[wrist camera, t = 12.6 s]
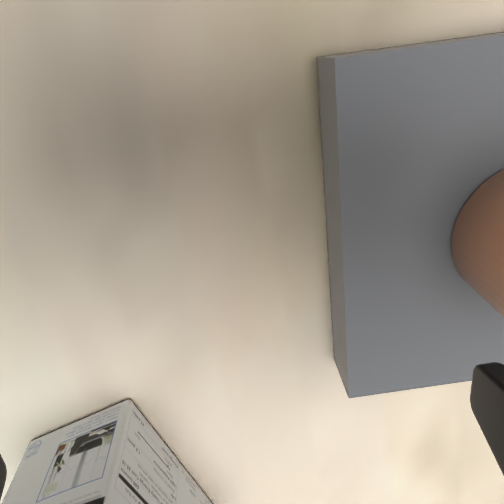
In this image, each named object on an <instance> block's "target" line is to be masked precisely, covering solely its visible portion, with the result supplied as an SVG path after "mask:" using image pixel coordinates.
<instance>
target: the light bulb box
mask: <svg viewBox="0 0 504 504" xmlns="http://www.w3.org/2000/svg"><path fill="white" fill-rule="evenodd" d="M2 504H212V503H211V502H210V500H209V499H208V498H207V496H206V495H205V494H204V493H203V491H202V490H201V489H200V488H199V486H198V485H197V484H196V482H195V481H194V480H193V479H192V477H191V476H190V475H189V474H188V472H187V471H186V470H185V469H184V467H183V466H182V465H181V464H180V462H179V461H178V460H177V458H176V457H175V456H174V455H173V453H172V452H171V451H170V449H169V448H168V447H167V446H166V444H165V443H164V442H163V441H162V439H161V438H160V437H159V435H158V434H157V433H156V432H155V430H154V429H153V428H152V427H151V425H150V424H149V423H148V422H147V420H146V419H145V418H144V416H143V415H142V414H141V413H140V411H139V410H138V409H137V408H136V406H135V405H134V404H133V402H132V401H131V400H125V401H123V402H121V403H118V404H116V405H114V406H111V407H109V408H107V409H105V410H102V411H100V412H98V413H95V414H93V415H91V416H88V417H86V418H84V419H81V420H79V421H77V422H74V423H72V424H70V425H67V426H65V427H63V428H61V429H58V430H56V431H54V432H51V433H49V434H47V435H44V436H42V437H40V438H37V439H35V440H33V441H31V442H30V443H29V445H28V448H27V450H26V452H25V454H24V456H23V459H22V461H21V463H20V465H19V467H18V469H17V471H16V473H15V476H14V478H13V480H12V482H11V484H10V487H9V489H8V491H7V493H6V495H5V497H4V500H3V502H2Z"/></svg>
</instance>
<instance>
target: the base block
mask: <svg viewBox="0 0 504 504" xmlns="http://www.w3.org/2000/svg"><path fill="white" fill-rule="evenodd" d="M317 69H318V86H319V104H320V122H321V139H322V157H323V174H324V192H325V210H326V227H327V245H328V263H329V280H330V298H331V315H332V333H333V351H334V360H335V363H336V366H337V368H338V371H339V374H340V376H341V379H342V382H343V384H344V387H345V390H346V392H347V395H348V397H349V398H354V397H361V396H367V395H374V394H381V393H388V392H395V391H402V390H409V389H416V388H423V387H430V386H437V385H444V384H450V383H457V382H464V381H471V380H472V375H473V369H474V367H475V366H476V365H479V364H485V363H492V362H498V363H501V364H503V365H504V317H503V316H502V315H500V314H499V313H498V312H497V311H496V310H495V309H494V308H493V307H492V306H491V305H490V304H489V303H488V302H487V301H486V300H484V299H483V298H482V297H481V296H480V295H479V294H478V293H477V292H476V291H475V290H474V289H473V288H472V287H471V286H470V285H468V284H467V283H466V282H465V281H464V280H463V279H462V277H461V276H460V275H459V273H458V272H457V270H456V268H455V265H454V263H453V259H452V254H451V240H452V233H453V229H454V225H455V223H456V220H457V218H458V216H459V214H460V212H461V210H462V208H463V206H464V205H465V204H466V202H467V201H468V199H469V198H470V197H471V195H472V194H473V193H474V192H475V191H476V190H477V189H478V188H479V187H480V186H481V185H482V184H483V183H484V182H485V181H487V180H488V179H489V178H491V177H492V176H493V175H495V174H497V173H498V172H500V171H501V170H503V169H504V32H500V33H492V34H485V35H477V36H470V37H463V38H455V39H448V40H440V41H433V42H425V43H418V44H410V45H403V46H395V47H388V48H381V49H373V50H366V51H358V52H351V53H343V54H336V55H328V56H321V57H317Z"/></svg>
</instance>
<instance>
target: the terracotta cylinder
mask: <svg viewBox="0 0 504 504" xmlns="http://www.w3.org/2000/svg"><path fill="white" fill-rule="evenodd" d="M451 254H452V259H453V263H454V265H455V268H456V270H457V272H458V273H459V275H460V276H461V277H462V279H463V280H464V281H465V282H466V283H467V284H468V285H470V286H471V287H472V288H473V289H474V290H475V291H476V292H477V293H478V294H479V295H480V296H481V297H482V298H483V299H484V300H486V301H487V302H488V303H489V304H490V305H491V306H492V307H493V308H494V309H495V310H496V311H497V312H498V313H499V314H500V315H502V316H503V317H504V169H503V170H501V171H500V172H498V173H497V174H495V175H493V176H492V177H491V178H489V179H488V180H487V181H485V182H484V183H483V184H482V185H481V186H480V187H479V188H478V189H477V190H476V191H475V192H474V193H473V194H472V195H471V197H470V198H469V199H468V201H467V202H466V204H465V205H464V206H463V208H462V210H461V212H460V214H459V216H458V218H457V220H456V223H455V225H454V229H453V233H452V240H451Z"/></svg>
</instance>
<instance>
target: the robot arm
mask: <svg viewBox="0 0 504 504" xmlns="http://www.w3.org/2000/svg"><path fill="white" fill-rule="evenodd" d="M470 403H471V408H472V411H473V413H474V415H475V417H476V419H477V421H478V423H479V425H480V427H481V430H482V432H483V434H484V436H485V438H486V440H487V442H488V444H489V446H490V448H491V450H492V452H493V454H494V456H495V458H496V461H497V463H498V465H499V467H500V469H501V471H502V473H503V475H504V365H503V364H501V363H498V362H492V363H485V364H479V365H476V366H475V367H474V369H473V375H472V385H471V394H470ZM6 475H7V470H6V465H5V463H4V461H3V459H2V456H1V454H0V499H1V496H2V492H3V488H4V485H5V481H6Z"/></svg>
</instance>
